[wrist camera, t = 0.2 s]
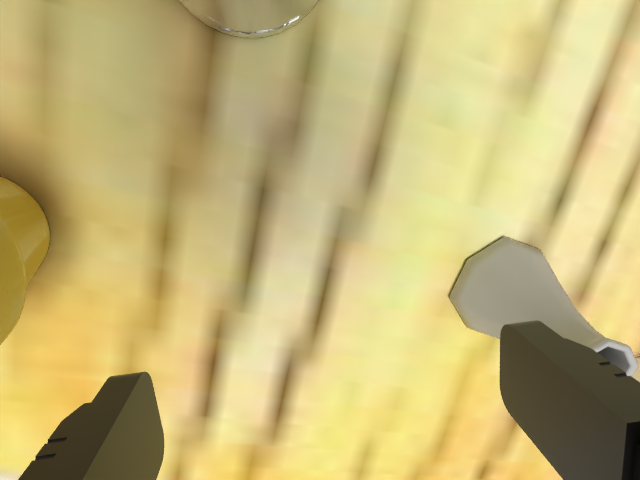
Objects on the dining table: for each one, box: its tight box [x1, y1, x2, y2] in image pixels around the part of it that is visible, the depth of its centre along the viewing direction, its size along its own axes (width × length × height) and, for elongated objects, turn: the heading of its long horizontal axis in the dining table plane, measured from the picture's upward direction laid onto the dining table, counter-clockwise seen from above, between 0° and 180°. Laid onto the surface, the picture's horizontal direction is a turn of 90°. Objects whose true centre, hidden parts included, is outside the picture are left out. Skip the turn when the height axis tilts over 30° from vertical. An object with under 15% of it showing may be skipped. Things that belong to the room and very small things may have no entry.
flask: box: [449, 237, 638, 376], centre depth 26 cm, size 7×7×10 cm
